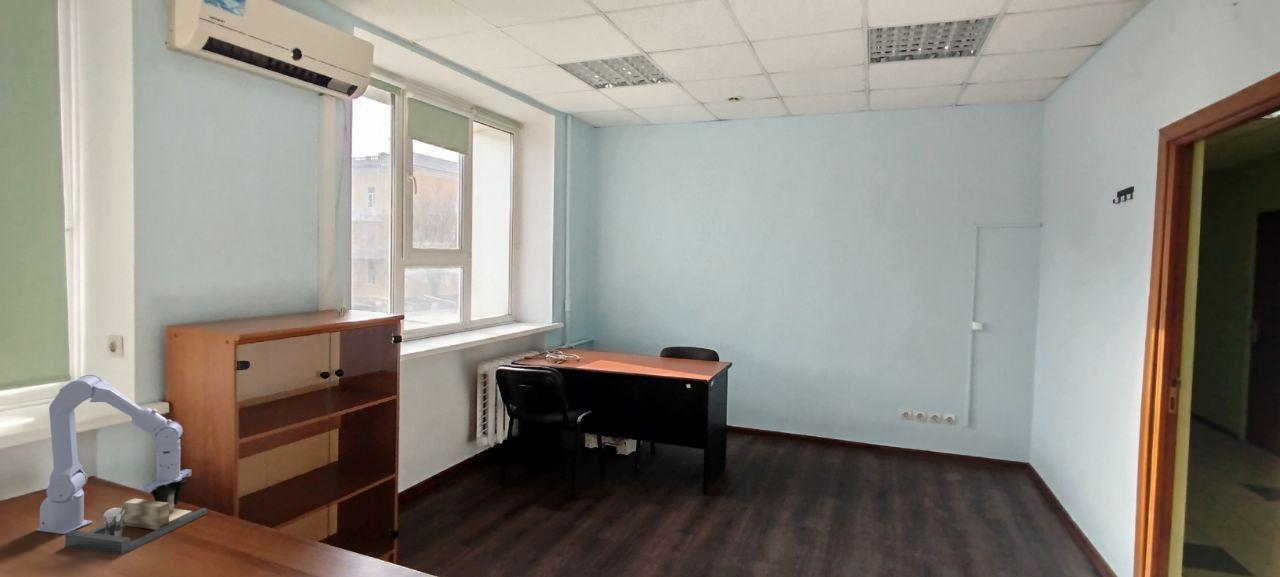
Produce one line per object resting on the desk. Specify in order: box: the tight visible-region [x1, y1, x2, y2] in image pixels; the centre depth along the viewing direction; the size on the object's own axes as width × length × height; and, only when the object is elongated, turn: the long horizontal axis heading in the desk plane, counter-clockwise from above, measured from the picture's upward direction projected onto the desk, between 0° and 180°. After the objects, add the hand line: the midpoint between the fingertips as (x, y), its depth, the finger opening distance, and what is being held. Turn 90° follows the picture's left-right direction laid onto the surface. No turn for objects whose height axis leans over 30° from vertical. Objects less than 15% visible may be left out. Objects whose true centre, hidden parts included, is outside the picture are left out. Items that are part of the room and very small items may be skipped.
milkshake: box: [103, 506, 125, 537], centre depth 171 cm, size 4×5×10 cm
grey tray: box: [64, 507, 208, 556], centre depth 179 cm, size 18×28×4 cm, turn 172°
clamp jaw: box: [123, 488, 193, 531], centre depth 184 cm, size 12×11×8 cm
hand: (167, 506), depth 187 cm, fingers closed on clamp jaw, 3 cm apart
